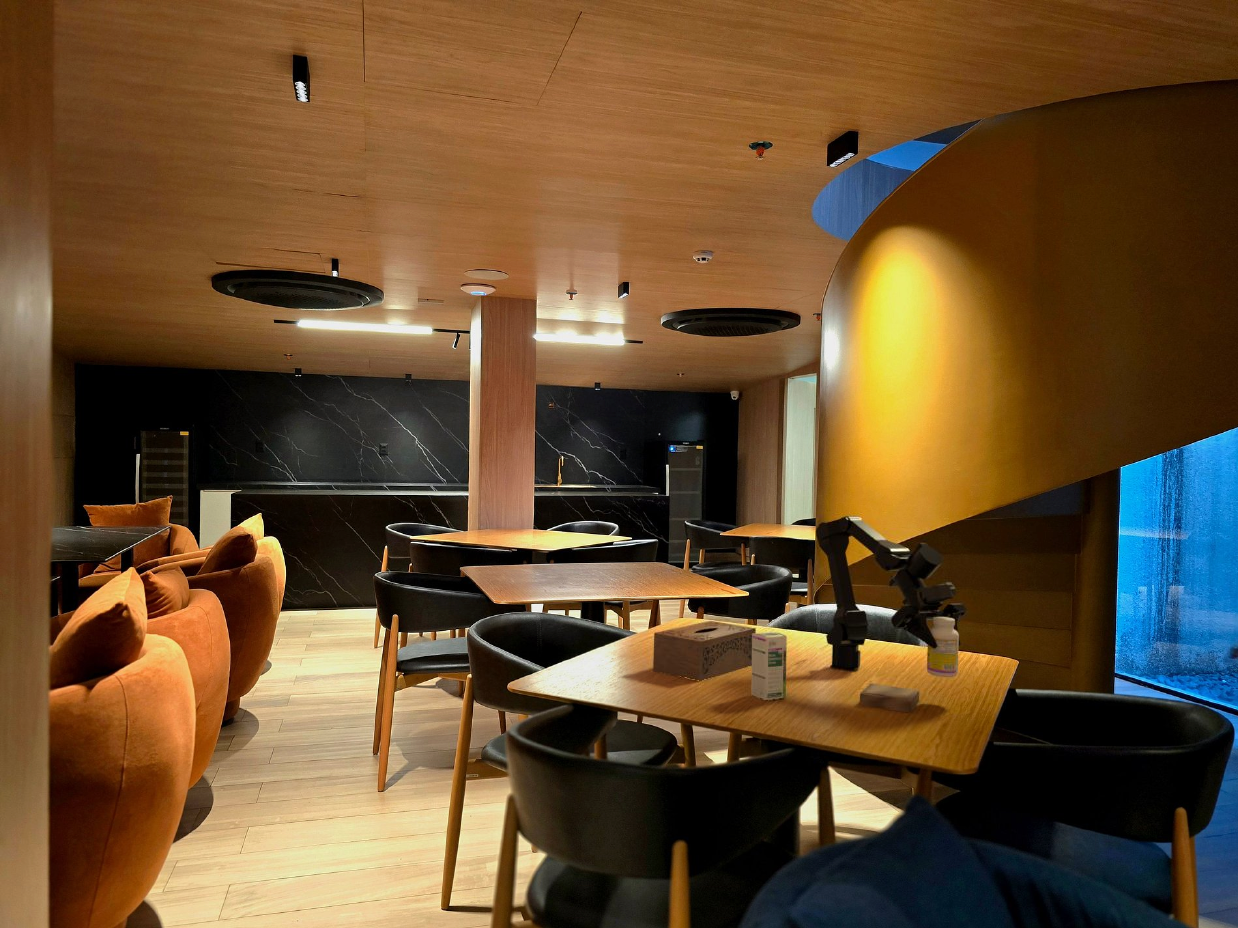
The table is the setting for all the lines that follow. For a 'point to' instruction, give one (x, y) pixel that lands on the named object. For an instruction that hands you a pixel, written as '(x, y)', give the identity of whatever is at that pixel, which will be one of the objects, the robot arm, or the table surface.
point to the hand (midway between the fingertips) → (947, 646)
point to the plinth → (889, 697)
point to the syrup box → (769, 665)
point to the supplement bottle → (943, 648)
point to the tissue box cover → (703, 650)
